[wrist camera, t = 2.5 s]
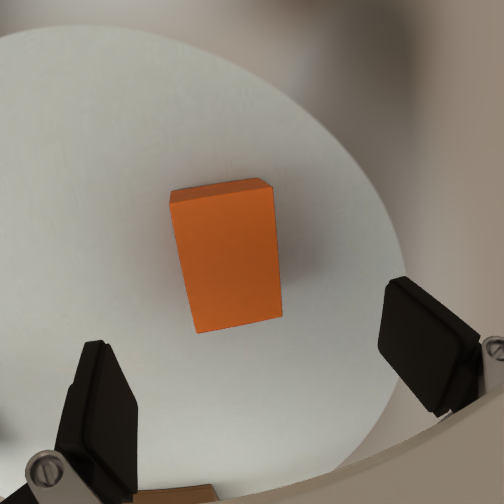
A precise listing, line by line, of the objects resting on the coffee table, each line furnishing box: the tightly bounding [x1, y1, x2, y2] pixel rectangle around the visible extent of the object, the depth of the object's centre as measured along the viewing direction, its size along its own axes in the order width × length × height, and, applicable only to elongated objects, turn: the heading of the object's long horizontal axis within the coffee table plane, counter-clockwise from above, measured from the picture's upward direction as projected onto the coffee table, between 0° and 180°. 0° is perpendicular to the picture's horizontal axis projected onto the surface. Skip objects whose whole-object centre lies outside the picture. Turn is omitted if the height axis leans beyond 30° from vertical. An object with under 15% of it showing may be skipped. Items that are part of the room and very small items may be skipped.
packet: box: [169, 178, 282, 333], centre depth 18 cm, size 8×5×3 cm, turn 6°
